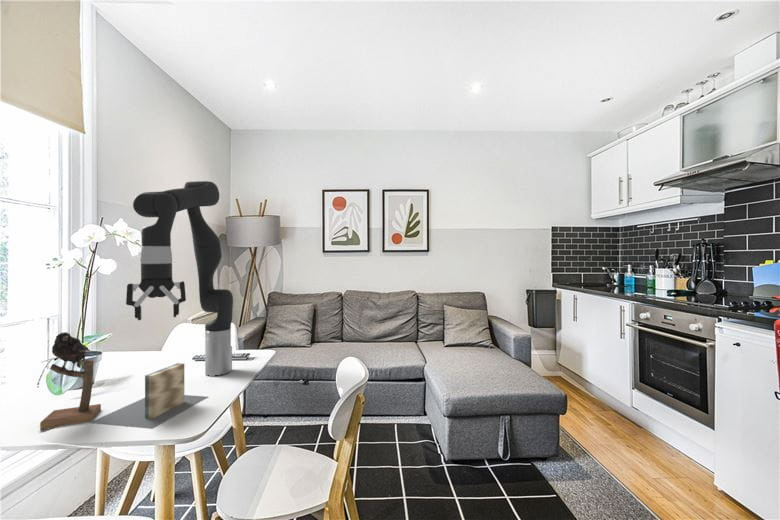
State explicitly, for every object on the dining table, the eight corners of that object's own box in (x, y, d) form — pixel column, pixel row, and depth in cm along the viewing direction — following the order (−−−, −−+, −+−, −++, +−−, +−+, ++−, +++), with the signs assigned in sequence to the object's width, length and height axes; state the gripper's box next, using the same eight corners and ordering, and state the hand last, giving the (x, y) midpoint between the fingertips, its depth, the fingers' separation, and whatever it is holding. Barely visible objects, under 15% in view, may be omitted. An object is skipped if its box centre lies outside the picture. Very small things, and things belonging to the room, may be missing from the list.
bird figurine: (107, 403, 110) (107, 323, 110) (91, 422, 97) (91, 331, 97) (62, 409, 106) (62, 326, 106) (40, 430, 93) (40, 335, 93)
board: (177, 401, 111) (177, 363, 111) (184, 401, 110) (184, 363, 110) (145, 418, 99) (145, 375, 99) (152, 418, 98) (152, 375, 98)
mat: (155, 394, 118) (155, 392, 118) (208, 397, 114) (208, 396, 114) (88, 424, 96) (88, 422, 96) (152, 430, 93) (152, 428, 93)
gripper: (185, 261, 108) (185, 314, 108) (127, 262, 101) (128, 318, 101) (185, 262, 102) (186, 317, 102) (124, 262, 94) (125, 323, 95)
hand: (157, 318), depth 101 cm, fingers open, 8 cm apart
